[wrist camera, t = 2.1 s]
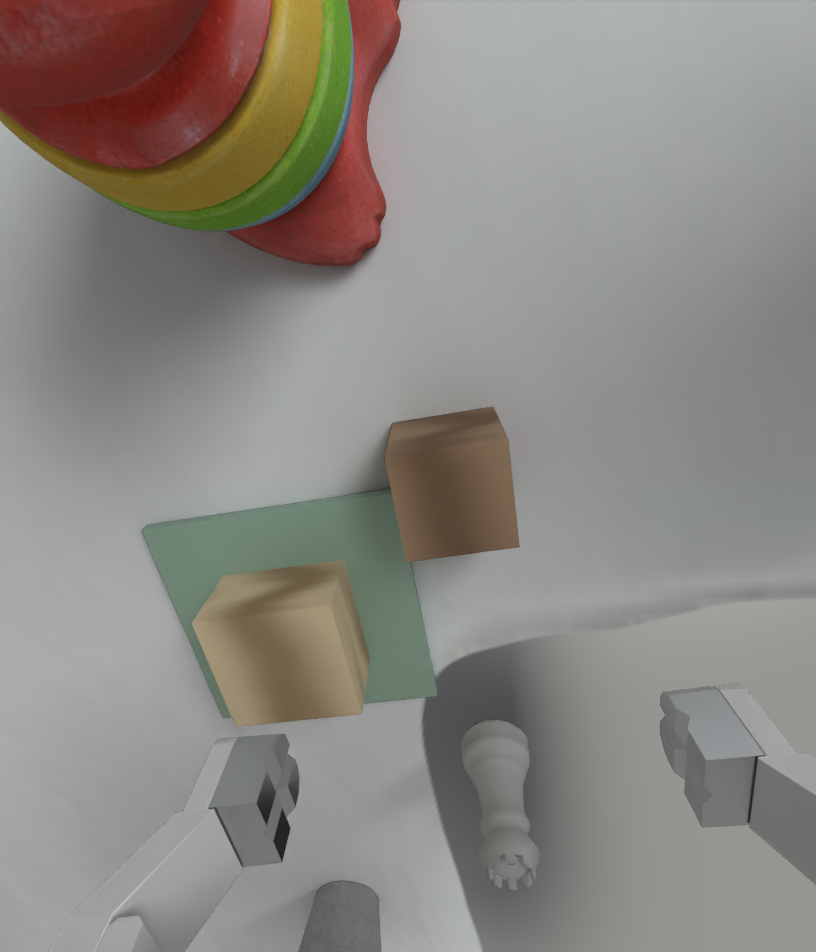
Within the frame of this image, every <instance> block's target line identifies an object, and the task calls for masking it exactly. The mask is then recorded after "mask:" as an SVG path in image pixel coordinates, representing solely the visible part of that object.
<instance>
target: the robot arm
mask: <svg viewBox="0 0 816 952" xmlns="http://www.w3.org/2000/svg"><path fill="white" fill-rule="evenodd" d="M660 706H661V708H662V710H663V712H664V714H665V716H664V718H663V719H662V720H661V721H660V735H661V739H662V743H663V748H664V751H665V753H666V756H667V759H668V761H669V763H670V765H671V767H672V769H673V771H674V772H675V773H676V774H678V775H679V776H680V777H682V778H683V779H685V790H684V791H685V792H684V793H685V795H686V797H687V799H688V801H689V803H690V805H691V807H692V809H693V811H694V813H695V815H696V817H697V819H698V821H699V823H700V825H701V827H717V826H736V825H750V826H749V827H750V828H751V829H752V830H753V831H754V832H755V833H756V834H758V835H759V836H760V837H761V838H762V839H763V840H765V841H766V842H767V843H768V844H769V845H770V846H771V847H773V848H774V849H775V850H776V851H777V852H778V853H780V854H781V855H782V856H783V857H785V859H787V860H788V861H789V862H790V863H791V864H792V865H794V866H795V867H796V868H797V869H798V870H799V871H800V872H802V873H803V874H804V875H805V876H806V877H807V878H809V879H810V880H811V881H812V882H813V883H814V884H815V885H816V759H815V758H813V757H811V756H810V755H808V754H806V753H796V752H795V751H794V749H793V748H792V747H791V745H790V744H789V743H788V742H787V741H786V739H785V738H784V736H783V735H782V734H781V733H780V732H779V730H778V729H777V728H776V726H775V725H774V724H773V722H772V721H771V720H770V719H769V717H768V716H767V715H766V714H765V712H764V711H763V710H762V708H761V707H760V706H759V705H758V703H757V702H756V701H755V700H754V698H753V697H752V696H751V694H750V693H749V692H748V691H747V689H746V688H745V687H744V686H742V685H741V684H739V683H737V684H728V685H719V686H713V687H711V686H707V687H700V688H692V689H683V690H674V691H666V692H663V693H662V694H661V699H660ZM288 749H289V742H288V740H287V738H286V735H285V734H273V735H261V736H248V737H239V738H227V739H218V740H217V741H216V742H215V743H214V744H213V746H212V747H211V749H210V752H209V754H208V756H207V758H206V761H205V763H204V765H203V767H202V769H201V772H200V774H199V776H198V778H197V781H196V783H195V785H194V787H193V790H192V792H191V794H190V796H189V798H188V801H187V803H186V805H185V807H184V810H183V812H176V813H175V814H174V815H173V816H172V817H171V818H170V819H169V820H168V821H167V822H166V823H165V824H164V825H162V826H161V827H160V828H159V829H158V830H157V831H156V832H155V833H154V834H153V835H152V836H151V837H150V838H149V839H148V840H147V841H146V842H145V843H144V844H143V845H142V846H141V847H140V848H139V849H138V850H137V851H136V852H135V853H133V854H132V855H131V856H130V857H129V858H128V859H127V860H126V861H125V862H124V863H123V864H122V865H121V866H120V867H119V868H118V869H117V870H116V871H115V872H114V873H113V874H112V875H111V876H110V877H109V878H108V879H107V880H106V881H104V882H103V883H102V884H101V885H100V886H99V887H98V888H97V889H96V890H95V891H94V892H93V893H92V894H91V895H90V896H89V897H88V898H87V899H86V900H85V901H84V902H83V903H82V904H81V905H80V906H79V907H78V908H77V909H76V910H74V911H73V912H72V913H71V914H70V915H69V916H68V917H67V918H66V920H65V922H64V923H63V925H62V927H61V929H60V931H59V932H58V934H57V936H56V938H55V940H54V941H53V943H52V945H51V947H50V949H49V950H48V952H184V951H185V950H186V949H187V947H188V946H189V944H190V943H191V942H192V940H193V939H194V937H195V936H196V935H197V933H198V932H199V930H200V929H201V928H202V926H203V925H204V923H205V922H206V921H207V919H208V918H209V916H210V915H211V913H212V912H213V911H214V909H215V908H216V906H217V905H218V904H219V902H220V901H221V899H222V898H223V897H224V895H225V894H226V892H227V891H228V890H229V888H230V887H231V885H232V884H233V883H234V881H235V880H236V878H237V877H238V876H239V874H240V873H241V871H242V870H243V868H242V867H245V866H253V865H262V864H271V863H279V862H282V861H283V856H284V852H285V848H286V844H287V840H288V836H289V832H290V826H289V824H288V821H287V819H286V817H287V816H288V815H289V814H290V813H291V811H292V810H293V809H294V808H295V807H296V802H297V798H298V793H299V773H298V767H297V764H296V761H295V759H294V758H293V757H291V756H290V755H288V754H287V752H288Z"/></svg>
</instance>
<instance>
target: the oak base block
mask: <svg viewBox="0 0 816 952" xmlns="http://www.w3.org/2000/svg"><path fill="white" fill-rule="evenodd" d="M192 626H193V628H194V630H195V633H196V635H197V637H198V640H199V642H200V644H201V647H202V649H203V651H204V654H205V656H206V658H207V661H208V663H209V665H210V668H211V670H212V672H213V675H214V677H215V680H216V682H217V684H218V687H219V689H220V691H221V694H222V696H223V698H224V701H225V703H226V705H227V708H228V710H229V712H230V715H231V717H232V719H233V722H234V724H235V726H236V727H238V726H248V725H258V724H268V723H278V722H288V721H297V720H307V719H317V718H327V717H337V716H346V715H356V714H362V711H363V704H364V697H365V690H366V684H367V677H368V670H369V663H370V656H369V652H368V648H367V645H366V641H365V637H364V633H363V630H362V626H361V622H360V618H359V615H358V611H357V607H356V603H355V600H354V596H353V592H352V588H351V584H350V581H349V577H348V573H347V569H346V566H345V562H344V560H338V561H331V562H324V563H316V564H309V565H301V566H294V567H286V568H279V569H272V570H264V571H257V572H249V573H242V574H235V575H227V576H223V577H222V578H221V580H220V581H219V583H218V584H217V586H216V587H215V589H214V590H213V592H212V593H211V595H210V596H209V598H208V599H207V601H206V602H205V604H204V605H203V607H202V608H201V610H200V611H199V613H198V614H197V616H196V617H195V619H194V620H193V622H192Z"/></svg>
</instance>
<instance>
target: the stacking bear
mask: <svg viewBox="0 0 816 952" xmlns="http://www.w3.org/2000/svg"><path fill="white" fill-rule="evenodd" d="M399 3H400V0H0V121H1V122H2V123H3V124H4V125H5V126H6V127H7V128H8V129H9V130H10V131H11V132H13V133H14V134H15V135H16V136H17V137H18V138H19V139H20V140H21V141H23V142H24V143H25V144H26V145H28V146H29V147H30V148H31V149H33V150H34V151H35V152H37V153H38V154H39V155H41V156H42V157H43V158H45V159H46V160H47V161H49V162H50V163H52V164H53V165H55V166H56V167H58V168H59V169H61V170H62V171H64V172H65V173H67V174H68V175H70V176H72V177H73V178H75V179H77V180H78V181H80V182H82V183H84V184H85V185H87V186H89V187H90V188H92V189H93V190H95V191H96V192H98V193H99V194H101V195H102V196H104V197H106V198H108V199H110V200H111V201H113V202H115V203H117V204H119V205H121V206H123V207H125V208H127V209H129V210H131V211H134V212H136V213H138V214H141V215H143V216H146V217H148V218H151V219H154V220H157V221H159V222H162V223H166V224H169V225H172V226H177V227H181V228H187V229H194V230H203V231H226V232H228V233H229V234H231V235H233V236H234V237H236V238H238V239H240V240H242V241H244V242H245V243H247V244H249V245H251V246H253V247H255V248H257V249H260V250H262V251H265V252H267V253H270V254H273V255H275V256H278V257H282V258H285V259H289V260H293V261H297V262H301V263H307V264H313V265H322V266H347V265H352V264H355V263H357V262H358V261H360V260H361V258H362V256H363V253H364V251H366V250H368V249H371V248H373V247H375V246H376V245H377V244H378V242H379V240H380V237H381V229H380V222H381V221H382V219H383V218H384V216H385V212H386V204H385V198H384V195H383V192H382V190H381V187H380V185H379V183H378V181H377V178H376V176H375V173H374V170H373V168H372V165H371V160H370V156H369V152H368V144H367V117H368V110H369V104H370V100H371V96H372V93H373V90H374V87H375V85H376V82H377V80H378V78H379V76H380V74H381V73H382V71H383V69H384V67H385V66H386V64H387V63H388V61H389V60H390V58H391V56H392V55H393V53H394V50H395V48H396V45H397V43H398V40H399V36H400V30H401V23H400V19H399V17H398V14H397V10H398V6H399Z"/></svg>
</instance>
